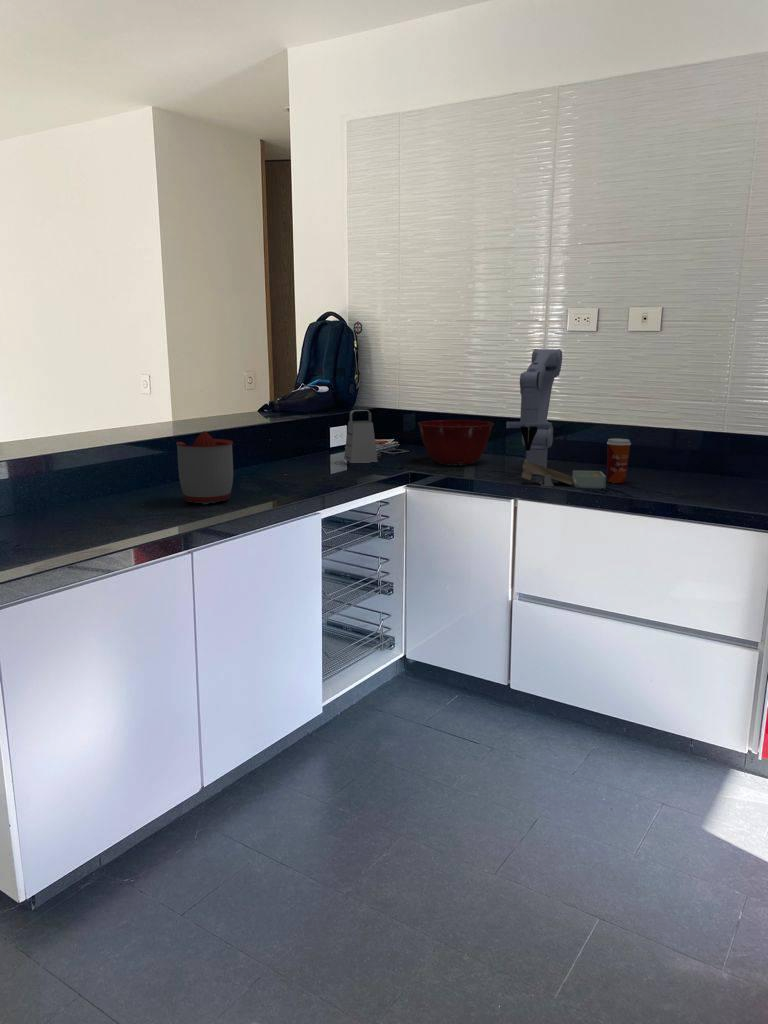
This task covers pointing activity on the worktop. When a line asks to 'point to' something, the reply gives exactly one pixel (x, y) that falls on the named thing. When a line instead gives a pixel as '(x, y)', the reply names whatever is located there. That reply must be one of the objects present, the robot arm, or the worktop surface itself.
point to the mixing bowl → (455, 440)
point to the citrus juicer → (205, 468)
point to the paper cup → (617, 459)
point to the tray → (589, 479)
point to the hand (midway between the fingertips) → (527, 450)
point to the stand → (546, 480)
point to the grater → (360, 441)
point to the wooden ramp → (544, 472)
